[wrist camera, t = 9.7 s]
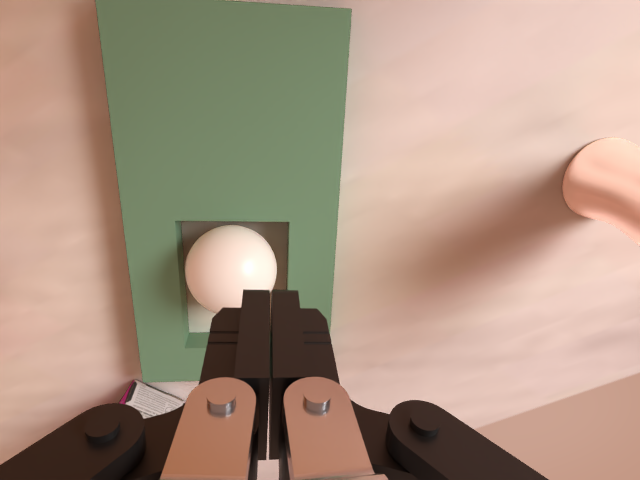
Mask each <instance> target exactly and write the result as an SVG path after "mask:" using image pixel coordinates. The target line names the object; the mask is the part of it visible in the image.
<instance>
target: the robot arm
mask: <svg viewBox="0 0 640 480" xmlns="http://www.w3.org/2000/svg"><path fill="white" fill-rule="evenodd" d="M268 404H269V460H273V459H279V480H548V479H547V478H545V477H544V476H542V475H541V474H539V473H538V472H536V471H535V470H533V469H532V468H530V467H529V466H527V465H526V464H524V463H523V462H521V461H520V460H518V459H517V458H515V457H514V456H512V455H511V454H509V453H508V452H506V451H505V450H503V449H502V448H500V447H499V446H497V445H496V444H494V443H493V442H491V441H490V440H488V439H487V438H486V437H484V436H482V435H481V434H480V433H478V432H477V431H475V430H474V429H472V428H471V427H469V426H468V425H466V424H465V423H463V422H462V421H460V420H459V419H457V418H456V417H454V416H453V415H451V414H450V413H448V412H447V411H445V410H444V409H442V408H440V407H439V406H437V405H434V404H432V403H429V402H425V401H420V400H409V401H405V402H402V403H400V404H398V405H396V406H395V407H394V408H393V409H392V411H391V413H390V414H386V413H382V412H378V411H374V410H370V409H367V408H364V407H362V406H360V405H358V404H356V403H354V402H353V401H352V400H350V398H349V395H348V393H347V392H346V390H345V389H344V388H343V387H342V386H341V385H340V383H339V378H338V373H337V368H336V363H335V358H334V353H333V348H332V345H331V338H330V334H329V328H328V323H327V319H326V318H325V317H324V316H323V315H322V313H321V312H320V311H319V310H318V309H317V308H300V301H299V292H298V290H272V298H271V323H270V290H246V289H243V296H242V305H241V308H230V307H223V308H222V309H221V310H220V311H219V312H218V313H217V314H216V315H215V316H214V317H213V318H212V323H211V328H210V334H209V337H208V344H207V347H206V352H205V357H204V362H203V366H202V371H201V376H200V381H199V385H198V386H197V387H195V388H194V389H193V390H192V391H191V393H190V394H189V396H188V398H187V400H186V403H185V404H184V405H182V406H180V407H179V408H177V409H175V410H172V411H170V412H167V413H164V414H160V415H157V416H153V417H149V418H145V419H143V416H142V415H141V413H140V412H139V411H138V410H137V409H136V408H134V407H132V406H130V405H126V404H121V403H112V404H105V405H100V406H97V407H94V408H91V409H89V410H87V411H85V412H83V413H81V414H80V415H78V416H77V417H75V418H74V419H72V420H70V421H69V422H67V423H66V424H64V425H63V426H61V427H59V428H58V429H56V430H55V431H53V432H52V433H50V434H48V435H47V436H45V437H44V438H42V439H41V440H39V441H37V442H36V443H34V444H33V445H31V446H30V447H28V448H26V449H25V450H23V451H22V452H20V453H19V454H17V455H15V456H14V457H12V458H11V459H9V460H8V461H6V462H4V463H3V464H1V465H0V480H257V465H258V460H266V452H267V428H268Z"/></svg>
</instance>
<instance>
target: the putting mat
mask: <svg viewBox="0 0 640 480" xmlns="http://www.w3.org/2000/svg"><path fill="white" fill-rule="evenodd" d="M95 2H96V10H97V18H98V26H99V34H100V42H101V50H102V58H103V66H104V74H105V82H106V90H107V98H108V106H109V114H110V122H111V130H112V138H113V147H114V155H115V163H116V171H117V179H118V187H119V195H120V203H121V211H122V219H123V227H124V235H125V243H126V251H127V259H128V267H129V275H130V283H131V291H132V299H133V307H134V315H135V323H136V331H137V339H138V347H139V355H140V363H141V371H142V379H143V382H175V381H200V376H201V371H202V366H203V362H204V357H205V352H206V347H207V344H208V337H209V334H210V332H209V333H189V326H188V312H187V298H186V285H185V271H184V257H183V243H182V230H181V221H249V222H288V250H287V290H298V292H299V301H300V308H317V309H318V310H319V311H320V312H321V313H322V315H323V316H324V317H325V318H326V319H327V323H328V328H329V334H330V324H331V310H332V295H333V280H334V265H335V250H336V235H337V220H338V205H339V191H340V176H341V161H342V146H343V131H344V116H345V101H346V86H347V72H348V57H349V42H350V27H351V12H352V9H348V8H333V7H317V6H302V5H287V4H271V3H256V2H241V1H225V0H95Z"/></svg>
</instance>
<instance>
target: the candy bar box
mask: <svg viewBox="0 0 640 480" xmlns="http://www.w3.org/2000/svg"><path fill="white" fill-rule="evenodd" d="M119 403H121V404H126V405H130V406H132V407H134V408H136V409H137V410H138V411H139V412H140V413H141V415H142V416H143V419H145V418H149V417H153V416H157V415H160V414H164V413H167V412H170V411H172V410H175V409H177V408H179V407H180V406H182V405H184V404H185V401H184V400H182V399H180V398H178V397H176V396H174V395H172V394H168V393H166V392H163V391H161V390H158V389H156V388H154V387H152V386H150V385H147V384H145V383H143V382H140V381H138V380H133V382H132V383H131V385H130V387H129V388H128V390H127V391H126V393H125V394H124V396H123V397H122V399H121V400H120V402H119Z"/></svg>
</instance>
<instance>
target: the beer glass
mask: <svg viewBox="0 0 640 480" xmlns="http://www.w3.org/2000/svg"><path fill="white" fill-rule="evenodd" d="M562 190H563V196H564V199H565V202H566V203H567V205H568V206H569V208H570V209H571V210H572V211H574V212H575V213H577V214H579V215H581V216H584V217H587V218H591V219H595V220H599V221H603V222H606V223H609V224H611V225H613V226H615V227H616V228H618V229H619V230H621V231H622V232H623V233H624V234H626V235H627V236H628V237H629V238H630V239H632V240H633V241H634V242H635V243H636V244H637V245H639V246H640V147H639V146H637V145H635V144H633V143H632V142H630V141H628V140H625V139H622V138H617V137H609V138H603V139H599V140H597V141H594V142H592V143H590V144H589V145H587V146H586V147H584V148H583V149H582V150H581V151H579V152H578V153H577V155H576V156H575V157H574V158H573V159H572V161H571V162H570V164H569V166H568V168H567V170H566V172H565V175H564V179H563V186H562Z"/></svg>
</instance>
